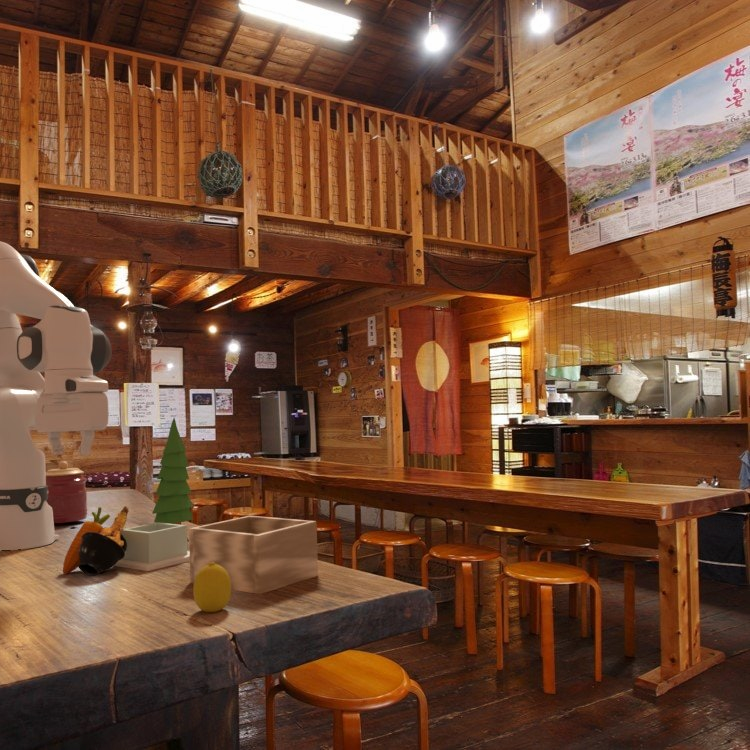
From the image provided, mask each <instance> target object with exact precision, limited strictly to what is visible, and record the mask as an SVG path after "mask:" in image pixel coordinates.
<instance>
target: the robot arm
mask: <svg viewBox="0 0 750 750" xmlns="http://www.w3.org/2000/svg"><path fill="white" fill-rule="evenodd" d="M17 315H18V316H25V317H31V318H35V319H39V320H40V321H39V322H38V323H36V324H35V325H33V326H29V327H28V328H25V329H24V330H22V329H23V328H22V326H21V323H20V321H19V318H18V316H17ZM89 315H90V314H89V313H88V311H87V310H86V309H84V308H83V307H77V306H74V304H73V303H72V302H71V301H70V300H69V299H68V297H66V296H65V295H64V294H63V293H62V292H60V291H58V290H57V289H56V288H54V287H52V286H51V285H50V284H48V283H47V282H46V281H45V280H43V279H42V278H41V275H40V270H39V268H38V265H37V263H36V261H35V260H34V259H33V258H32V256H30V255H27V254H22V253H19V251H17V250H16V249H15V247H13V246H11V245H10V244H9V243H6V242H4V241H0V550H11V551H19V550H18V549H21V550H28V549H33V548H39V547H44V546H47V545H50V544H53V543H54V541H57V540H59V539H60V535H59V534H56V533H55V523H54V521H53V511H52V507H51V506H49V505H48V503H47V501H46V500H47V499H48V486H47V485H46V472H47V471H46V465H47V464H46V455H45V453H44V451H43V450H41V449H40V448H39V447H37V446H36V444H35V442H34V441H33V438H32V435H31V431H36V432H37V433H47V436H46V437H47V440H48V443H49V445H50V447H51V451H50V453H51V455H52V456H56V455H57V456H59V455H64V451H65V449H64V448H65V447H64V445H62V442H61V437H62V433H64V432H79V433H80V438H81V442H80V445H78V446H77V450H78V455H79V456H86V455H88V456H89V455H90V454H91V453H92V449H91V448H92V443H93V442H94V439H95V436H96V435H95V431H105V430H106V429H107V426H108V423H109V400H108V395H107V394H106V393H107V392H108V391H109V383H108V381H107V380H105V379H102V378H100V377H98V376H96V375H97V374H98V373H100V372H102V370H103V369H105V368H106V367H107V366H108V364H109V362H110V361H111V359H112V353H113V351H112V344H111V342H110V340H109V338H108V336H107V335H106V334H105V333H104V332H103V331H102V330H101V329H100V328H97V327H95V326H93V325H92V323H91V320H90V319H91V318H90V316H89ZM41 373H44V376H43V375H42V374H41Z"/></svg>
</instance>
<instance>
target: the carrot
mask: <svg viewBox="0 0 750 750" xmlns="http://www.w3.org/2000/svg"><path fill="white" fill-rule="evenodd" d="M102 508H103V507H101V506H98V507H97V512H95V511H92V512H91V514H92V516H93V520H87V521H84V523H83V524H82V525H81V527H80V528H79V529H78V532H77V533H76V534H75V536H74V537H73V540H72V541H71V544H70V546H69V548H68V550H67V552H66V554H65V557H64V561H63V566H62V574H63V575H69V574H70V573H71V572H73V571H75V570H76V569H77V568H79V567H78V565H79V564H80V559H79V547H80V544H81V543H82V536H83V534H84V533H87V532H94V533H100V531H101V530H102V529H103V528H104V527H103V526H102V525H103V524H104V523H105V522H107V521H108V519H109V518H110V517H111V515H110V514H109V513H106V514H105V515H103V516H102V517H100V516H101V515H102V514H101V513H102V510H103V509H102Z"/></svg>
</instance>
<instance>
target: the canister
mask: <svg viewBox="0 0 750 750" xmlns="http://www.w3.org/2000/svg"><path fill="white" fill-rule="evenodd" d="M84 473H85V472H84V471H83V470H82V469H80V468H79V467H69V464H68V462H67V461H65V460H64V461H60V462H59V463H58V468H51V469H47V471H46V485H47V486H48V499H47V500H46V501H47V503H48V505H49V506H51V507H52V511H53V521H54V524H64V523H66V524H67V523H72V522H79V521H83V520H85V519H87V516H88V508H87V507H88V506H87V505H88V503H87V501H88V500H87V499H88V498H87V491H88V489H86V482H87V481H88V479H87V478H86V477H84V475H83V474H84Z"/></svg>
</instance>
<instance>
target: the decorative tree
mask: <svg viewBox="0 0 750 750" xmlns="http://www.w3.org/2000/svg"><path fill="white" fill-rule="evenodd" d="M186 451H187V448H186V446H185V445H184V442H183V440H182V439H181V436H180V433H179V430H178V427H177V421H176V419H175V417H173V419H172V422H171V425H170V428H169V433H168V437H167V441H166V444H165V446H164V449H163V453H162V454H163V455H162V457H161V460H160V462H159V464H160V465H161V467H160V470H159V473H158V476H157V478H156V480H160V481H159V484H158V485H157V488H156V491H155V495H157V496H158V498H157V501H156V504H155V505H154V508H153V510H152V512H151V514H152V515H153V514H156V515H155V518H154V520H153V521H154V522H153V523H157V522H159V523H169V524H179V525H183V524H182V523H185V522H187V521H192V520H194V516H193V514H192V512H191V509H190V508H194V507H195V506H194V504H193V502H192V500H191V499H190V497H189V495H190V494H192V493H193V491H191V488H190V485H189V484H188V481H187V480H190V476H189V473H188V470H187V468H189V467H190V465H189V462H188V458H187V455H186ZM188 494H189V495H188ZM187 542H189V537H187Z"/></svg>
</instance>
